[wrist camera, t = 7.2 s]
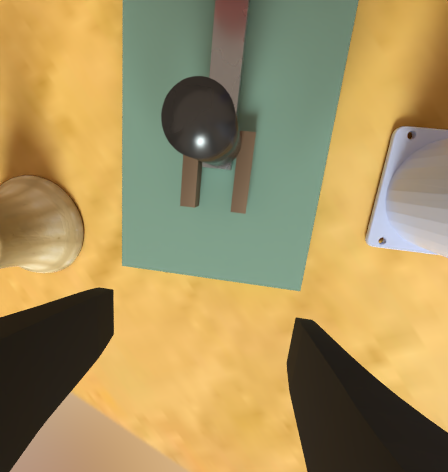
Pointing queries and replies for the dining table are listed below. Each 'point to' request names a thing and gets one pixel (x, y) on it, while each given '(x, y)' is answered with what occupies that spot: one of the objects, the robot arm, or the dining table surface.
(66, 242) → the hand bell
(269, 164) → the mat
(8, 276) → the dining table surface
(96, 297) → the robot arm
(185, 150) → the kicker rod
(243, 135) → the rail guides
